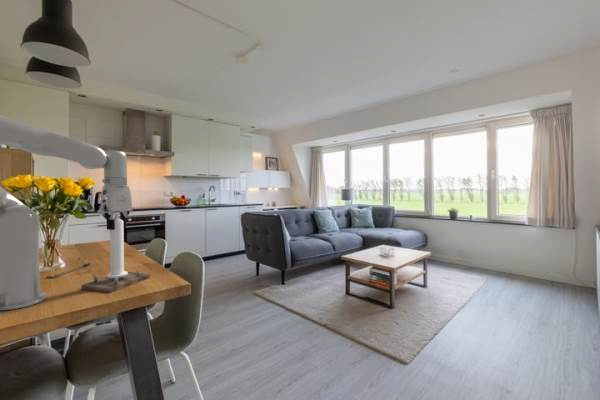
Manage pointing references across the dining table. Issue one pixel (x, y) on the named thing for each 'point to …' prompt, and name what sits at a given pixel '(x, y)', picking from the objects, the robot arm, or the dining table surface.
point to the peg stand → (114, 282)
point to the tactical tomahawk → (67, 272)
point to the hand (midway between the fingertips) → (116, 228)
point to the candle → (117, 250)
